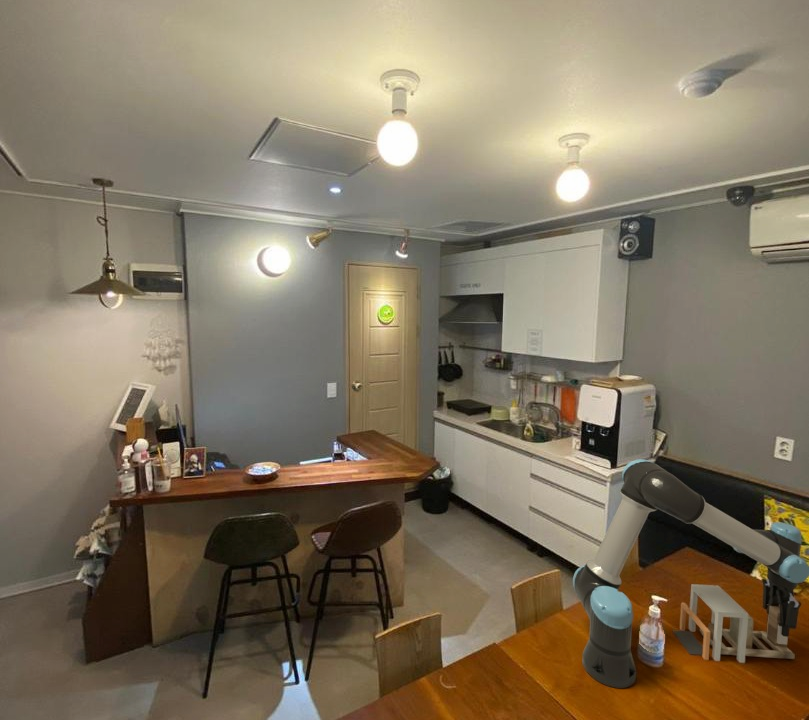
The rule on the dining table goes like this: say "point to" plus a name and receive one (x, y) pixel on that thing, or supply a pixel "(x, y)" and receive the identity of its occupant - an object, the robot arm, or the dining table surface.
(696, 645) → the pit mat
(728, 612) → the grey and orange stand
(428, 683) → the dining table surface
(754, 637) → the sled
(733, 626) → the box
